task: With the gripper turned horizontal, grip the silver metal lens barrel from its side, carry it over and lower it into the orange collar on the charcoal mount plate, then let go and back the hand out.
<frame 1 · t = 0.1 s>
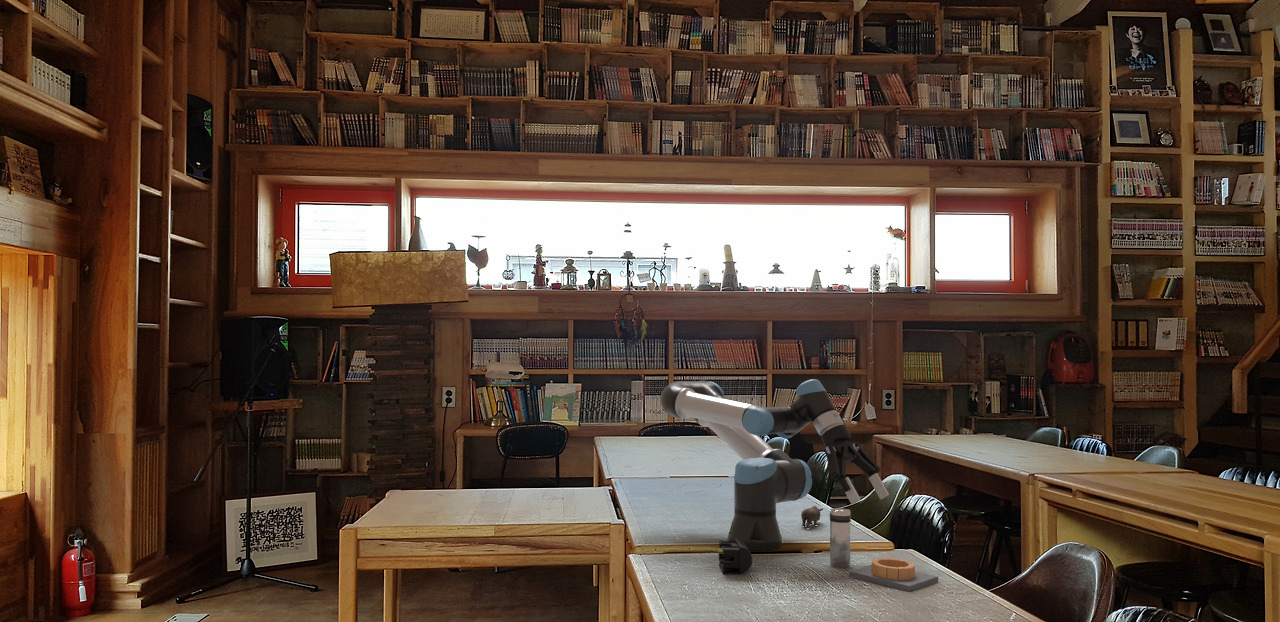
hand: (870, 499, 215), 15 cm above the table, tool tilted 35°, fingers open, 13 cm apart
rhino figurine: (812, 526, 254), on the table
end cap: (735, 571, 199), on the table
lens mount: (893, 578, 193), on the table
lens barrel: (840, 566, 205), on the table
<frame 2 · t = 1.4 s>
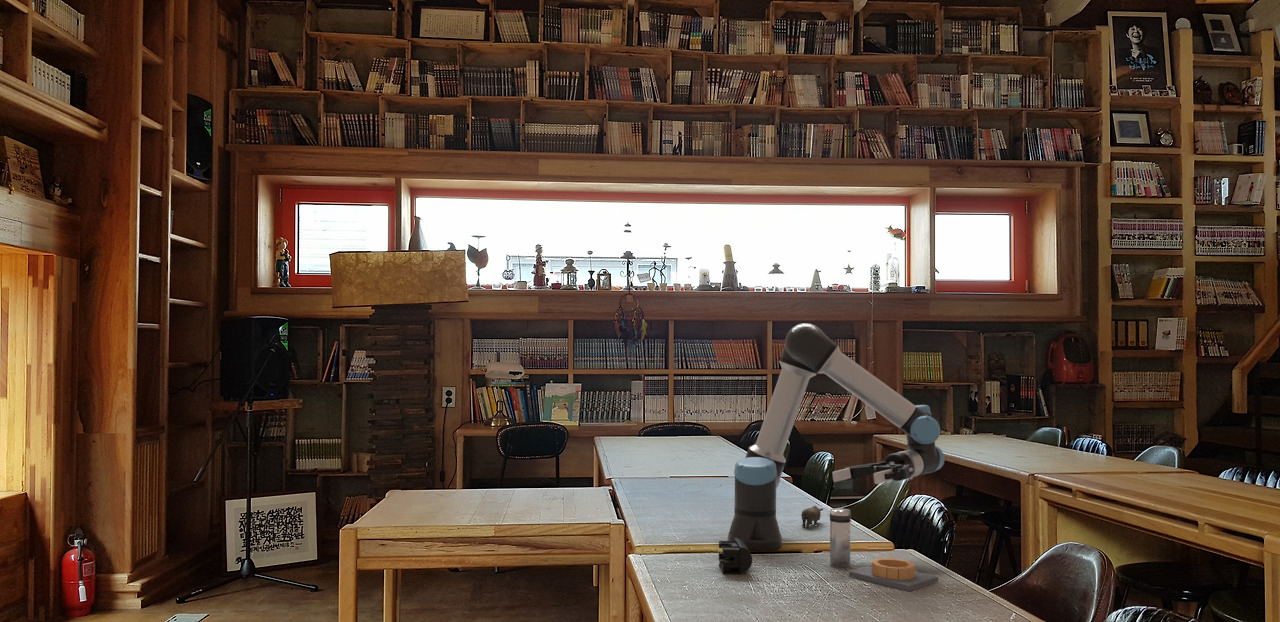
hand: (853, 477, 213), 21 cm above the table, tool horizontal, fingers open, 13 cm apart
nothing on the table moved.
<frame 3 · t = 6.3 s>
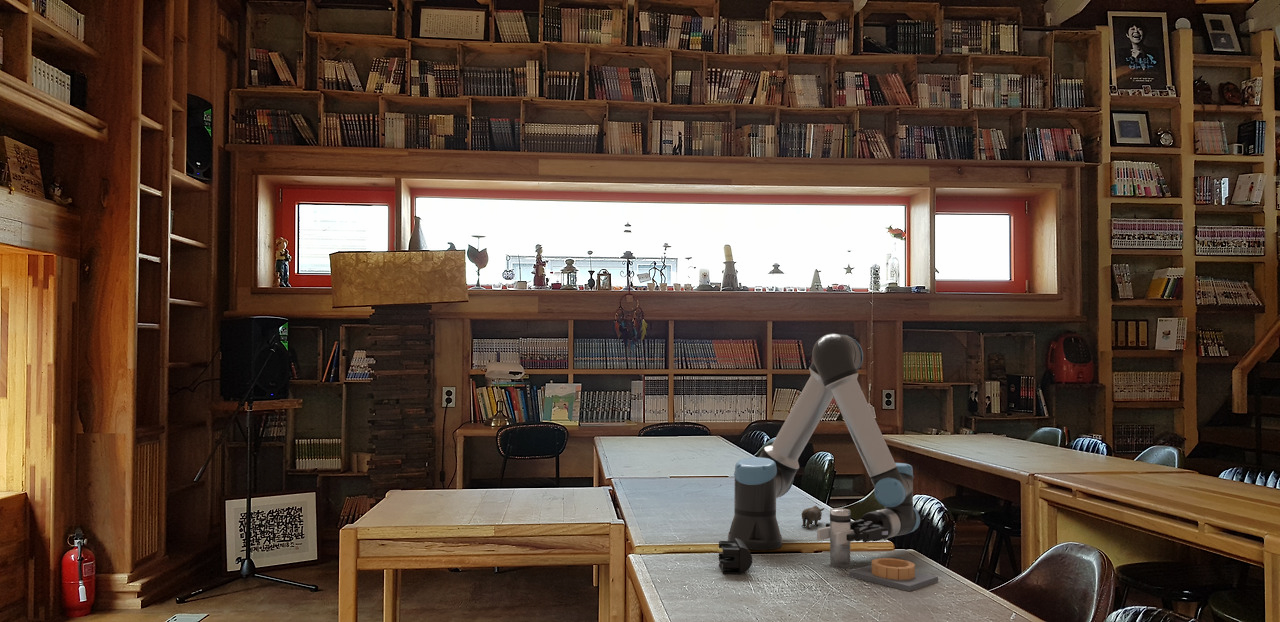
hand: (827, 536, 202), 8 cm above the table, tool horizontal, fingers closed on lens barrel, 5 cm apart
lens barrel: (840, 566, 205), on the table, touching gripper
everything else where it was.
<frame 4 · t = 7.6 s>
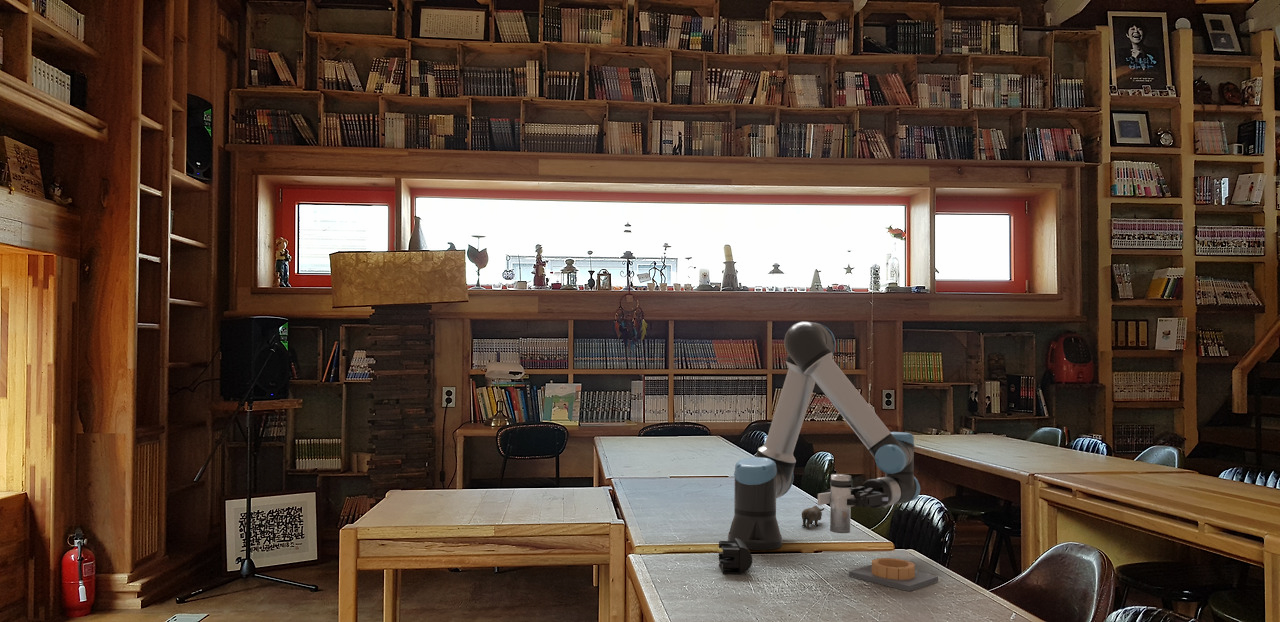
hand: (828, 501, 202), 17 cm above the table, tool horizontal, fingers closed on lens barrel, 5 cm apart
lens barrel: (840, 531, 205), point 9 cm above the table, touching gripper
everything else where it was.
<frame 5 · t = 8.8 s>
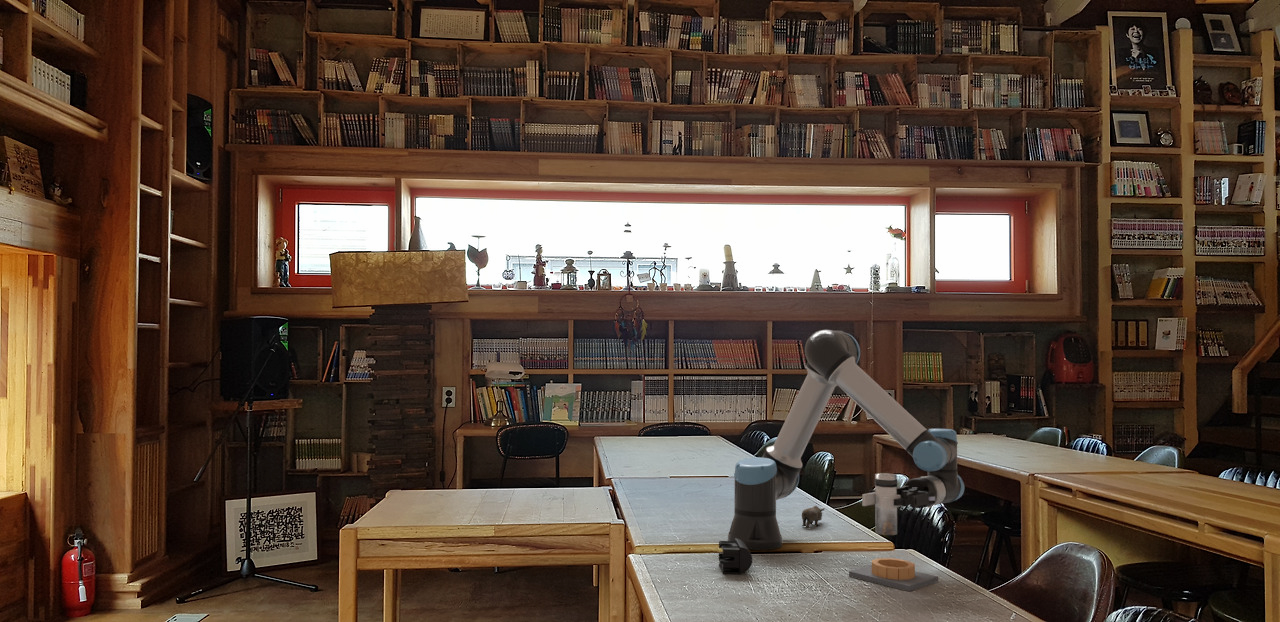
hand: (874, 501, 193), 18 cm above the table, tool horizontal, fingers closed on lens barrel, 5 cm apart
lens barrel: (886, 532, 196), point 10 cm above the table, touching gripper
everything else where it was.
when the fingers open (10 cm above the table, at t = 11.1 s): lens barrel drops 1 cm, resting on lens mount.
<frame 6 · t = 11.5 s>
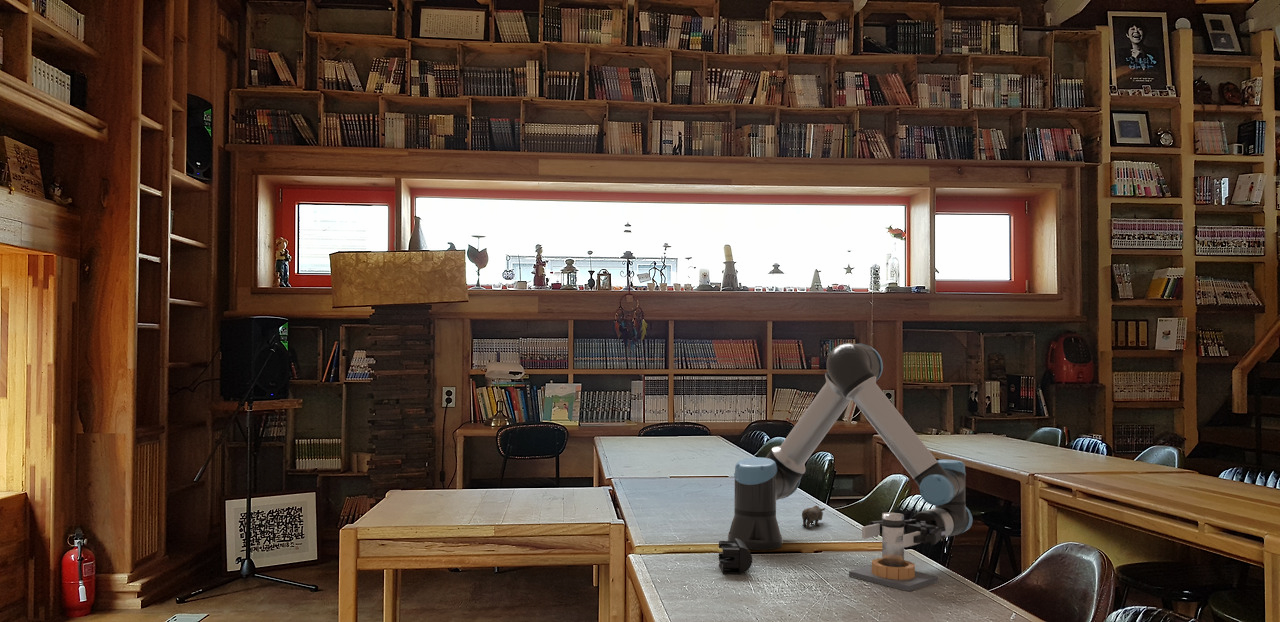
hand: (883, 536, 191), 10 cm above the table, tool horizontal, fingers open, 10 cm apart
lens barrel: (893, 573, 193), point 1 cm above the table, touching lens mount
everything else where it was.
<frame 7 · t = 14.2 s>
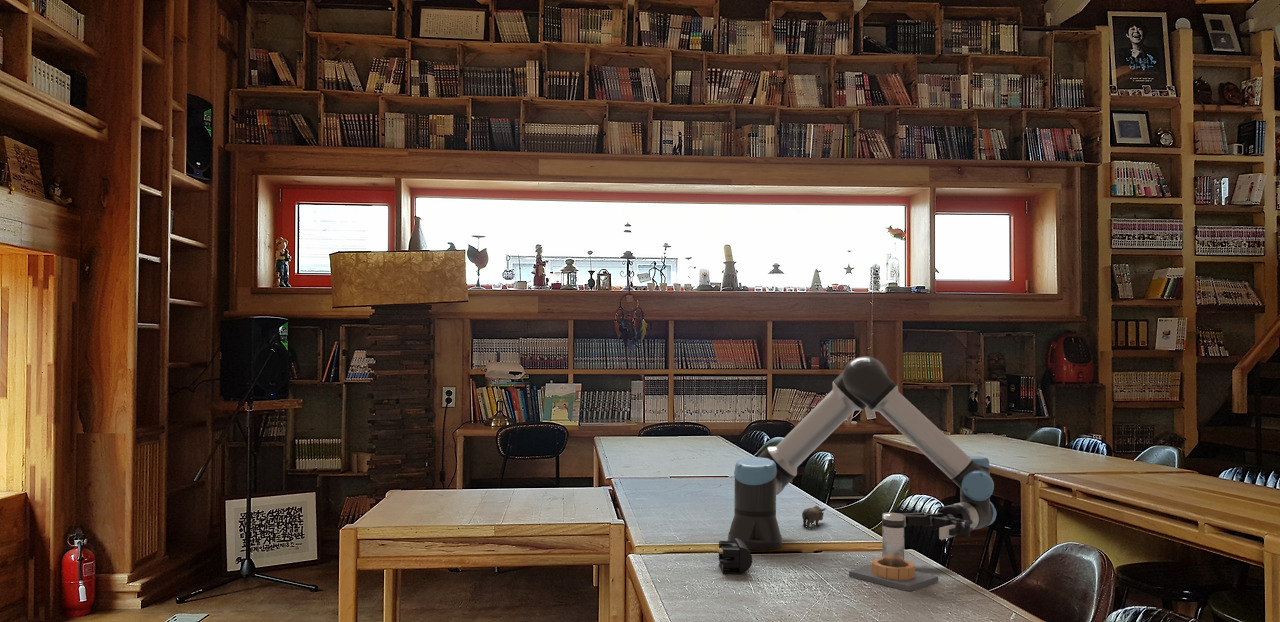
hand: (914, 528, 200), 11 cm above the table, tool horizontal, fingers open, 13 cm apart
nothing on the table moved.
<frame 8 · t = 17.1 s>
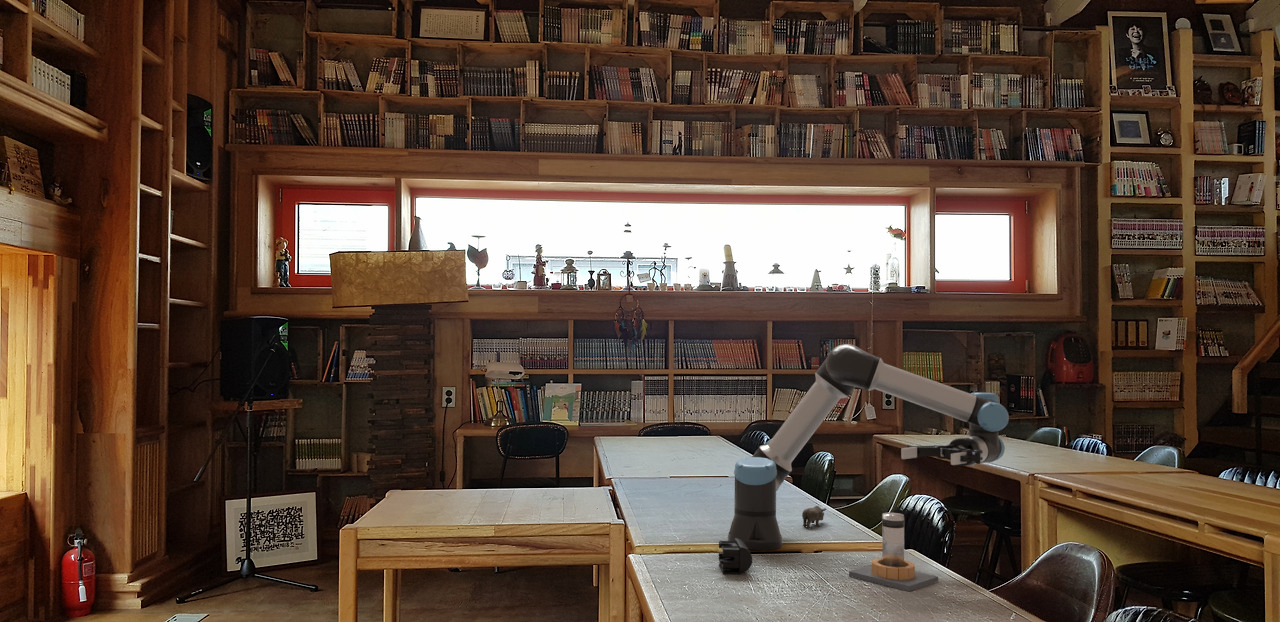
hand: (926, 456, 205), 28 cm above the table, tool horizontal, fingers open, 13 cm apart
nothing on the table moved.
at the end: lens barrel 0.1 cm off-centre on the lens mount, point 1.2 cm above the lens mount's base; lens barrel tilted 0°; the gripper is holding nothing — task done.
